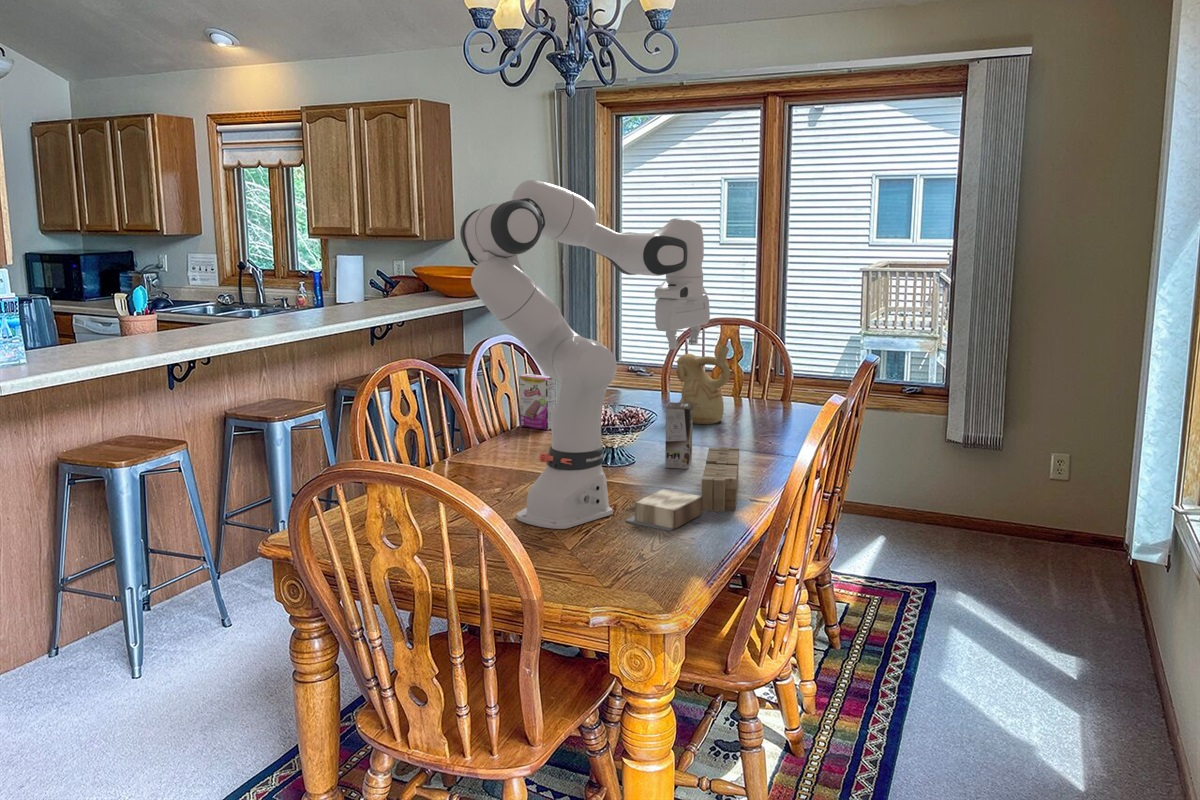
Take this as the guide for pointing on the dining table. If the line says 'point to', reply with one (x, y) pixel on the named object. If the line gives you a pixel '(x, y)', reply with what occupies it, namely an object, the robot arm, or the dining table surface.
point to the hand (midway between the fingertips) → (683, 346)
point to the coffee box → (678, 435)
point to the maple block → (668, 508)
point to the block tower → (720, 479)
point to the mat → (648, 524)
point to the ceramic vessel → (703, 386)
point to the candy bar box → (536, 401)
